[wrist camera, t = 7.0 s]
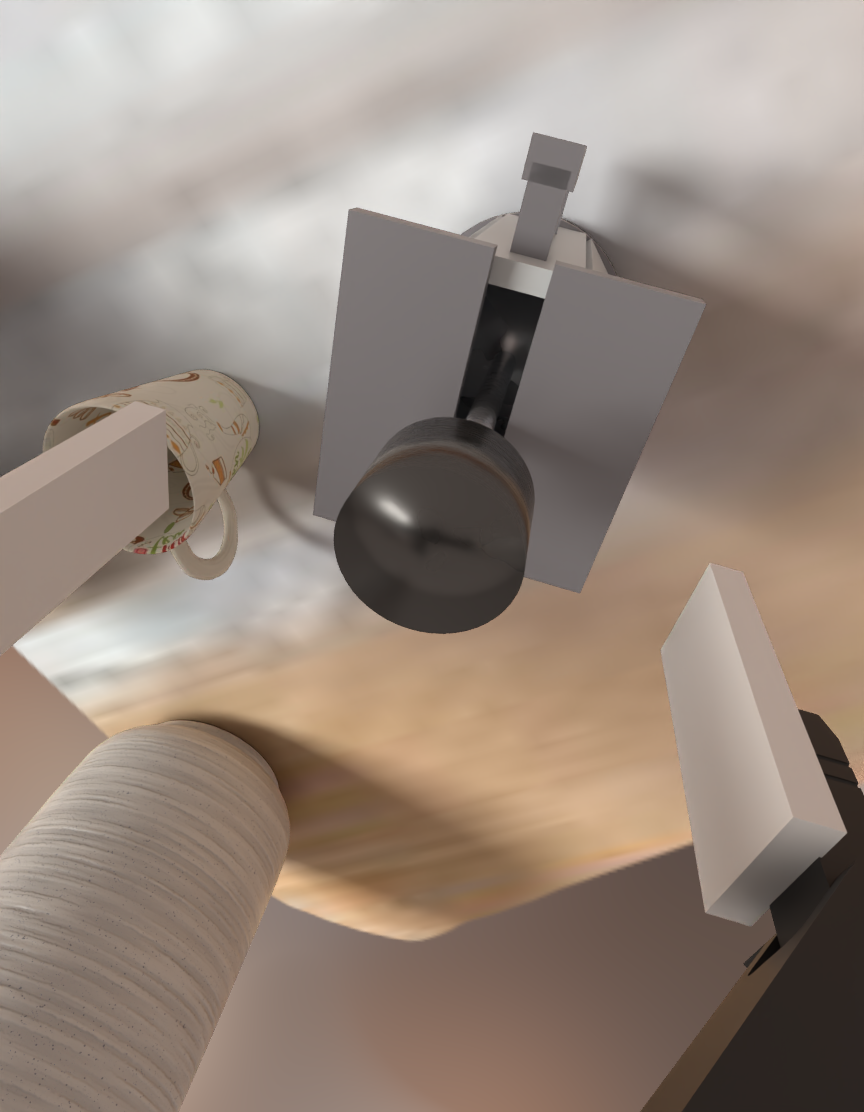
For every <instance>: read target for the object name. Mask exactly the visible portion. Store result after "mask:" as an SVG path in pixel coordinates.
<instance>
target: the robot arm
mask: <svg viewBox="0 0 864 1112" xmlns="http://www.w3.org/2000/svg"><path fill="white" fill-rule="evenodd" d="M168 509H169V493H168V464H167V434H166V410H165V409H161V408H158V407H154V406H151V405H147V404H143V403H140V402H136V401H135V402H133V403H131V404H129V405H128V406H126V407H124V408H122V409H120V410H119V411H117V412H115V413H113V414H112V415H110V416H108V417H106V418H104V419H103V420H101V421H99V422H97V423H96V424H94V425H92V426H90V427H89V428H87V429H85V430H83V431H81V432H80V433H78V434H76V435H74V436H73V437H71V438H69V439H67V440H65V441H64V442H62V443H60V444H58V445H57V446H55V447H53V448H51V449H49V450H48V451H46V452H44V453H42V454H41V455H39V456H37V457H35V458H34V459H32V460H30V461H28V462H26V463H25V464H23V465H21V466H19V467H18V468H16V469H14V470H12V471H10V472H9V473H7V474H5V475H3V476H2V477H0V656H1V655H2V654H3V653H4V652H5V651H6V650H8V649H9V648H10V647H11V646H12V645H13V644H15V643H16V642H17V641H18V640H19V639H20V638H21V637H23V636H24V635H25V634H26V633H27V632H28V631H29V630H31V629H32V628H33V627H34V626H35V625H36V624H37V623H39V622H40V621H41V620H42V619H43V618H44V617H45V616H47V615H48V614H49V613H50V612H51V611H52V610H53V609H55V608H56V607H57V606H58V605H59V604H60V603H61V602H63V601H64V600H65V599H66V598H67V597H68V596H69V595H71V594H72V593H73V592H74V591H75V590H76V589H77V588H79V587H80V586H81V585H82V584H83V583H84V582H85V581H87V580H88V579H89V578H90V577H91V576H92V575H93V574H95V573H96V572H97V571H98V570H99V569H100V568H101V567H103V566H104V565H105V564H106V563H107V562H108V561H109V560H111V559H112V558H113V557H114V556H115V555H116V554H117V553H119V552H120V551H121V550H122V549H123V548H124V547H125V546H127V545H128V544H129V543H130V542H131V541H132V540H133V539H135V538H136V537H137V536H138V535H139V534H140V533H141V532H143V531H144V530H145V529H146V528H147V527H148V526H149V525H151V524H152V523H153V522H154V521H155V520H156V519H157V518H159V517H160V516H161V515H162V514H163V513H164V512H165V511H167V510H168ZM661 656H662V662H663V668H664V674H665V680H666V685H667V691H668V697H669V703H670V709H671V715H672V720H673V726H674V732H675V738H676V744H677V750H678V756H679V761H680V767H681V773H682V779H683V785H684V791H685V797H686V802H687V808H688V814H689V820H690V826H691V832H692V837H693V843H694V849H695V855H696V861H697V867H698V873H699V878H700V884H701V890H702V896H703V902H704V908H705V912H706V913H708V914H711V915H715V916H718V917H721V918H724V919H728V920H731V921H734V922H737V923H741V924H744V925H747V926H752V925H753V924H754V923H755V922H756V921H757V920H758V919H759V918H760V917H762V915H764V913H766V912H767V911H768V910H769V909H770V910H771V913H772V917H773V921H774V925H775V928H776V934H775V935H774V936H773V937H772V938H771V939H770V940H769V941H768V942H767V943H765V944H764V945H763V946H762V947H761V948H760V949H759V950H758V951H757V952H756V953H755V954H753V956H751V957H750V958H749V959H748V960H747V961H746V962H745V963H744V965H745V966H746V967H747V969H746V971H745V972H744V973H743V975H742V976H741V977H740V979H739V980H738V981H737V983H736V984H735V985H734V987H733V988H732V989H731V991H730V992H729V993H728V995H727V996H726V997H725V999H724V1000H723V1002H722V1003H721V1004H720V1005H719V1007H718V1008H717V1010H716V1011H715V1012H714V1013H713V1015H712V1016H711V1018H710V1019H709V1020H708V1022H707V1023H706V1024H705V1026H704V1027H703V1028H702V1030H701V1031H700V1033H699V1034H698V1035H697V1036H696V1038H695V1039H694V1040H693V1042H692V1043H691V1044H690V1046H689V1047H688V1048H687V1050H686V1051H685V1052H684V1054H683V1055H682V1056H681V1058H680V1059H679V1061H678V1062H677V1063H676V1064H675V1066H674V1067H673V1068H672V1070H671V1071H670V1073H669V1074H668V1075H667V1076H666V1078H665V1079H664V1081H663V1082H662V1083H661V1085H660V1086H659V1087H658V1089H657V1090H656V1091H655V1093H654V1094H653V1095H652V1097H651V1098H650V1099H649V1101H648V1102H647V1103H646V1105H645V1106H644V1107H643V1109H642V1110H641V1111H640V1112H864V795H863V792H862V791H861V788H858V787H857V785H858V781H857V779H856V777H855V775H854V772H853V770H852V768H849V761H848V759H847V757H846V755H845V752H844V750H843V748H842V746H841V743H840V741H839V739H838V738H837V737H836V736H835V734H834V733H833V732H832V731H831V730H830V728H829V727H828V726H827V725H826V724H825V722H824V721H823V720H822V719H821V718H820V716H819V715H817V714H813V713H810V712H806V711H803V710H799V709H798V708H797V706H796V703H795V701H794V698H793V696H792V693H791V691H790V688H789V686H788V683H787V681H786V678H785V676H784V673H783V671H782V668H781V666H780V663H779V661H778V658H777V656H776V653H775V651H774V648H773V646H772V643H771V641H770V638H769V636H768V633H767V631H766V628H765V626H764V623H763V621H762V618H761V616H760V613H759V611H758V608H757V606H756V603H755V601H754V598H753V596H752V593H751V591H750V588H749V586H748V583H747V581H746V578H745V576H744V573H743V572H742V571H738V570H734V569H731V568H727V567H724V566H720V565H717V564H713V563H709V565H708V567H707V568H706V570H705V572H704V574H703V576H702V577H701V579H700V581H699V583H698V584H697V586H696V588H695V590H694V591H693V593H692V595H691V597H690V599H689V600H688V602H687V604H686V606H685V607H684V609H683V611H682V613H681V614H680V616H679V618H678V620H677V622H676V623H675V625H674V627H673V629H672V630H671V632H670V634H669V636H668V637H667V639H666V641H665V643H664V644H663V646H662V648H661Z"/></svg>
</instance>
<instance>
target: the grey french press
mask: <svg viewBox="0 0 864 1112" xmlns="http://www.w3.org/2000/svg"><path fill="white" fill-rule="evenodd" d="M586 149H587V146H586V145H582V144H578V143H574V142H570V141H566V140H562V139H558V138H554V137H550V136H546V135H542V134H538V133H534V132H533V135H532V139H531V143H530V147H529V151H528V155H527V159H526V163H525V167H524V171H523V175H522V179H523V180H527V181H528V182H527V186H526V190H525V194H524V198H523V202H522V206H521V209H520V212H514V213H506V214H503V215H499V216H495V217H492V218H490V219H487V220H485V221H483V222H480V223H479V224H477V225H475V226H474V227H472V228H470V229H469V230H467V231H465V232H464V233H463V234H461V235H459V234H455V233H451V232H447V231H443V230H440V229H436V228H432V227H428V226H425V225H421V224H417V223H413V222H410V221H406V220H402V219H398V218H394V217H391V216H387V215H383V214H379V213H376V212H372V211H368V210H364V209H360V208H353V209H349V212H348V221H347V229H346V238H345V246H344V255H343V263H342V272H341V280H340V289H339V298H338V306H337V315H336V323H335V332H334V340H333V349H332V357H331V366H330V375H329V383H328V392H327V400H326V409H325V417H324V426H323V434H322V443H321V451H320V460H319V469H318V477H317V486H316V494H315V503H314V511H313V515H315V516H319V517H322V518H326V519H329V520H332V521H336V520H337V517H338V515H339V512H340V510H341V508H342V506H343V504H344V503H345V501H346V500H347V498H348V497H349V495H350V494H351V492H352V491H353V489H354V488H355V487H356V485H357V484H358V482H359V481H360V479H361V478H362V477H363V475H364V474H365V472H366V471H367V469H368V468H369V466H370V465H371V464H372V462H373V461H374V459H375V458H376V456H377V455H378V454H379V452H380V451H381V449H382V448H383V447H384V445H385V444H386V443H387V442H388V440H389V439H391V438H392V437H393V436H394V435H395V434H396V433H397V432H399V431H400V430H402V429H403V428H405V427H407V426H409V425H411V424H413V423H415V422H418V421H422V420H425V419H430V418H436V417H455V418H456V414H457V410H458V406H459V402H460V397H461V393H462V389H463V385H464V381H465V377H466V373H467V369H468V365H469V360H470V356H471V352H472V348H473V344H474V340H475V336H476V332H477V328H478V324H479V319H480V315H481V311H482V307H483V303H484V299H485V295H486V291H487V287H488V284H492V285H496V286H500V287H503V288H507V289H511V290H515V291H518V292H522V293H526V294H529V295H533V296H537V297H541V298H544V299H545V300H544V303H543V307H542V310H541V314H540V317H539V320H538V324H537V327H536V330H535V334H534V337H533V341H532V344H531V347H530V351H529V354H528V358H527V361H526V364H525V368H524V371H523V374H522V378H521V381H520V385H519V388H518V391H517V395H516V398H515V402H514V405H513V408H512V412H511V415H510V418H509V422H508V425H507V429H506V432H505V435H504V438H505V439H506V440H507V441H508V442H510V443H511V444H512V445H513V447H514V448H515V449H516V450H517V451H518V452H519V454H520V455H521V457H522V458H523V460H524V461H525V463H526V465H527V467H528V469H529V471H530V474H531V477H532V480H533V486H534V492H535V504H534V512H533V519H532V525H531V532H530V539H529V545H528V552H527V559H526V565H525V572H524V577H526V578H529V579H533V580H536V581H539V582H543V583H546V584H550V585H553V586H556V587H560V588H563V589H567V590H570V591H573V592H577V593H580V592H581V590H582V588H583V585H584V583H585V581H586V578H587V576H588V574H589V572H590V569H591V567H592V565H593V562H594V560H595V558H596V556H597V553H598V551H599V549H600V546H601V544H602V542H603V540H604V537H605V535H606V533H607V530H608V528H609V526H610V524H611V521H612V519H613V517H614V514H615V512H616V510H617V508H618V505H619V503H620V501H621V498H622V496H623V494H624V492H625V489H626V487H627V485H628V482H629V480H630V478H631V476H632V473H633V471H634V469H635V466H636V464H637V462H638V459H639V457H640V455H641V453H642V450H643V448H644V446H645V443H646V441H647V439H648V437H649V434H650V432H651V430H652V427H653V425H654V423H655V421H656V418H657V416H658V414H659V411H660V409H661V407H662V405H663V402H664V400H665V398H666V395H667V393H668V391H669V389H670V386H671V384H672V382H673V379H674V377H675V375H676V373H677V370H678V368H679V366H680V363H681V361H682V359H683V357H684V354H685V352H686V350H687V347H688V345H689V343H690V341H691V338H692V336H693V334H694V331H695V329H696V327H697V325H698V322H699V320H700V318H701V315H702V313H703V311H704V309H705V306H706V303H705V302H704V301H703V300H702V299H700V298H696V297H693V296H689V295H685V294H681V293H677V292H674V291H670V290H666V289H662V288H659V287H655V286H651V285H647V284H644V283H640V282H636V281H632V280H628V279H625V278H621V277H617V275H616V273H615V270H614V268H613V266H612V264H611V262H610V261H609V259H608V257H607V255H606V254H605V253H604V251H603V250H602V249H601V247H600V246H599V245H598V244H597V243H596V242H595V241H594V240H593V239H592V238H591V237H590V236H589V235H588V234H587V233H585V232H584V231H583V230H581V229H580V228H578V227H577V226H575V225H573V224H572V223H570V222H568V221H566V220H564V219H561V218H562V214H563V211H564V207H565V204H566V200H567V197H568V193H569V191H570V192H573V191H574V188H575V185H576V183H577V180H578V176H579V173H580V169H581V166H582V162H583V159H584V156H585V152H586Z"/></svg>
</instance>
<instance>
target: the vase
mask: <svg viewBox="0 0 864 1112" xmlns="http://www.w3.org/2000/svg"><path fill="white" fill-rule="evenodd" d="M289 839H290V822H289V816H288V811H287V807H286V804H285V801H284V799H283V797H282V794H281V792H280V791H279V786H278V781H277V779H276V777H275V774H274V772H273V771H272V769H271V768H270V766H269V764H268V763H267V762H266V761H265V760H264V758H263V757H262V756H261V755H260V754H259V753H258V752H257V751H256V750H254V749H253V748H252V747H251V746H250V745H248V744H247V743H246V742H244V741H243V740H241V739H240V738H238V737H236V736H234V735H233V734H231V733H229V732H227V731H225V730H222V729H220V728H218V727H215V726H212V725H208V724H205V723H201V722H195V721H188V720H174V721H167V722H163V723H160V724H154V725H146V726H139V727H135V728H132V729H129V730H125V731H123V732H120V733H117V734H115V735H114V736H112V737H110V738H108V739H107V740H105V741H104V742H102V743H100V744H99V745H98V746H97V747H96V748H94V749H93V750H92V751H91V752H90V753H89V754H88V755H87V756H86V757H85V758H84V760H83V761H82V762H81V763H80V764H79V765H78V766H77V767H76V768H75V769H74V770H73V772H72V773H71V774H70V775H69V776H68V777H67V778H66V779H65V780H64V782H63V783H62V784H61V785H60V786H59V788H58V789H57V790H56V791H55V792H54V793H53V794H52V796H51V797H50V798H49V799H48V800H47V801H46V803H45V804H44V805H43V806H42V807H41V809H40V810H39V811H38V812H37V813H36V814H35V816H34V817H33V818H32V819H31V820H30V821H29V823H28V824H27V825H26V826H25V827H24V828H23V830H22V831H21V832H20V833H19V834H18V836H17V837H16V838H15V839H14V840H13V841H12V843H11V844H10V845H9V846H8V848H6V850H5V851H4V852H3V854H2V855H1V856H0V1112H179V1110H180V1108H181V1106H182V1104H183V1101H184V1099H185V1097H186V1094H187V1092H188V1090H189V1088H190V1085H191V1083H192V1081H193V1078H194V1076H195V1074H196V1071H197V1069H198V1067H199V1065H200V1062H201V1060H202V1057H203V1055H204V1053H205V1051H206V1049H207V1046H208V1044H209V1042H210V1039H211V1037H212V1035H213V1032H214V1030H215V1028H216V1025H217V1023H218V1021H219V1018H220V1016H221V1014H222V1011H223V1009H224V1007H225V1004H226V1002H227V999H228V997H229V995H230V992H231V990H232V988H233V985H234V983H235V981H236V978H237V976H238V974H239V971H240V969H241V967H242V964H243V962H244V959H245V957H246V955H247V953H248V950H249V948H250V945H251V943H252V940H253V938H254V935H255V933H256V931H257V928H258V926H259V923H260V921H261V919H262V916H263V914H264V911H265V909H266V906H267V904H268V902H269V899H270V897H271V895H272V892H273V890H274V887H275V885H276V882H277V879H278V877H279V874H280V871H281V869H282V866H283V863H284V861H285V858H286V855H287V851H288V847H289Z"/></svg>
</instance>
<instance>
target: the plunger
mask: <svg viewBox="0 0 864 1112" xmlns="http://www.w3.org/2000/svg"><path fill="white" fill-rule="evenodd" d="M544 300H545V299H544V298H541V297H537V296H533V295H529V294H526V293H522V292H518V291H515V290H511V289H507V288H503V287H500V286H496V285H492V284H488V287H487V291H486V295H485V299H484V303H483V307H482V311H481V315H480V319H479V324H478V328H477V332H476V336H475V340H474V344H473V348H472V352H471V356H470V360H469V365H468V369H467V373H466V377H465V381H464V385H463V389H462V393H461V397H460V402H459V406H458V410H457V414H456V418H455V417H436V418H430V419H425V420H422V421H418V422H415V423H413V424H411V425H409V426H407V427H405V428H403V429H402V430H400V431H399V432H397V433H396V434H395V435H394V436H393V437H392V438H391V439H389V440H388V442H387V443H386V444H385V445H384V447H383V448H382V449H381V451H380V452H379V454H378V455H377V456H376V458H375V459H374V461H373V462H372V464H371V465H370V466H369V468H368V469H367V471H366V472H365V474H364V475H363V477H362V478H361V479H360V481H359V482H358V484H357V485H356V487H355V488H354V489H353V491H352V492H351V494H350V495H349V497H348V498H347V500H346V501H345V503H344V504H343V506H342V508H341V510H340V512H339V515H338V517H337V520H336V525H335V529H334V549H335V554H336V559H337V562H338V565H339V568H340V570H341V573H342V574H343V576H344V578H345V580H346V582H347V583H348V585H349V586H350V588H351V589H352V591H353V592H354V593H355V594H356V595H357V596H358V597H359V599H360V600H361V601H363V602H364V603H365V604H366V605H367V606H368V607H369V608H371V609H372V610H373V611H375V612H376V613H377V614H379V615H380V616H382V617H384V618H385V619H387V620H389V621H391V622H393V623H395V624H397V625H400V626H403V627H406V628H408V629H412V630H416V631H420V632H427V633H439V634H446V633H457V632H463V631H467V630H471V629H474V628H477V627H479V626H482V625H484V624H486V623H488V622H489V621H491V620H493V619H494V618H496V617H497V616H498V615H500V614H501V613H502V612H503V611H504V610H505V609H506V608H507V607H508V606H509V605H510V604H511V602H512V601H513V599H514V598H515V596H516V595H517V593H518V591H519V589H520V586H521V584H522V580H523V577H524V572H525V565H526V559H527V552H528V545H529V539H530V532H531V525H532V519H533V512H534V504H535V492H534V486H533V480H532V477H531V474H530V471H529V469H528V467H527V465H526V463H525V461H524V460H523V458H522V457H521V455H520V454H519V452H518V451H517V450H516V449H515V448H514V447H513V445H512V444H511V443H510V442H508V441H507V440H506V439H505V438H504V435H505V432H506V429H507V425H508V422H509V418H510V415H511V412H512V408H513V405H514V402H515V398H516V395H517V391H518V388H519V385H520V381H521V378H522V374H523V371H524V368H525V364H526V361H527V358H528V354H529V351H530V347H531V344H532V341H533V337H534V334H535V330H536V327H537V324H538V320H539V317H540V314H541V310H542V307H543V303H544Z"/></svg>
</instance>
